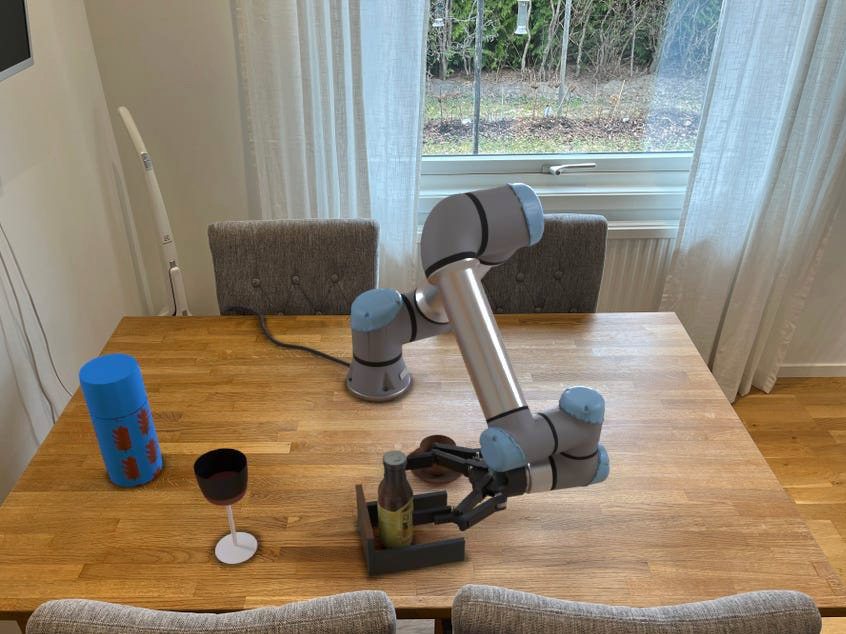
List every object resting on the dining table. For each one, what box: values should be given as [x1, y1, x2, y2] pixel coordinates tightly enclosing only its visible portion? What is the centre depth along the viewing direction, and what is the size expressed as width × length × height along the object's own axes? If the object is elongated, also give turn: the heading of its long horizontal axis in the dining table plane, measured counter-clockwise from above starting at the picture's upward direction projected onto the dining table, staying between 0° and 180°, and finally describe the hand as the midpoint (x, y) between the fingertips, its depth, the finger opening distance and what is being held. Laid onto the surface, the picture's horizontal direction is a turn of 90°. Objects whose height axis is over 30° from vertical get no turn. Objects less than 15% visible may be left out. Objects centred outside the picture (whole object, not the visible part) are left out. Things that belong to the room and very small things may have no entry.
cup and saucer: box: [407, 434, 464, 485], centre depth 145 cm, size 12×12×6 cm
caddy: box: [354, 483, 466, 578], centre depth 128 cm, size 17×13×10 cm
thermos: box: [78, 353, 163, 488], centre depth 141 cm, size 11×11×25 cm
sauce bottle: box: [377, 449, 414, 550], centre depth 125 cm, size 7×6×20 cm
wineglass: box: [193, 447, 258, 565], centre depth 124 cm, size 8×9×20 cm
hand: (404, 490), depth 124 cm, fingers open, 13 cm apart
